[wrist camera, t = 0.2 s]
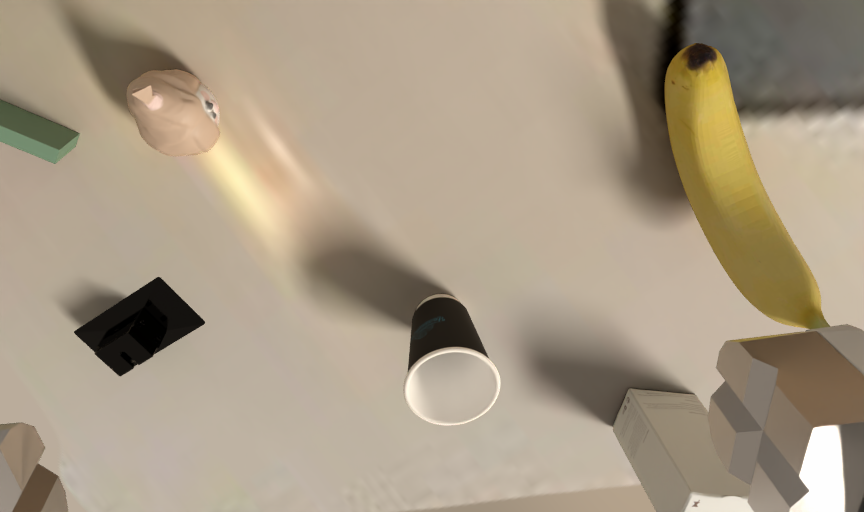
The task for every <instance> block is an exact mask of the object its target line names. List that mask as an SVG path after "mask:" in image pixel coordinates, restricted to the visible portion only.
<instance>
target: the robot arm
mask: <svg viewBox="0 0 864 512" xmlns="http://www.w3.org/2000/svg"><path fill="white" fill-rule="evenodd" d="M716 369H717V370H718V371H719V373H720V374H721V375H722V377H723V378H724V379H725V382H724V383H723V384H722V385H721V386H720V387H719V388H718V389H717V391H716V392H715V393H714V394H713V395H712V396H711V399H710V407H709V414H708V421H709V428H710V434H711V440H712V442H713V445H714V447H715V450H716V452H717V455H718V457H719V458H720V460H721V462H722V463H723V465H724V466H725V468H726V470H727V471H728V473H730V474H732V475H734V476H735V477H737V478H739V479H740V480H742V481H744V482H745V483H747V484H749V485H750V490H749V496H748V501H747V502H748V504H749V505H750V507H751V508H752V510H753V511H754V512H864V331H862V330H861V329H859V328H856V327H853V326H851V325H848V324H846V325H839V326H832V327H824V328H817V329H810V330H806V331H805V332H795V333H787V334H779V335H771V336H763V337H754V338H746V339H738V340H730V341H726V342H725V343H724V345H723V347H722V348H721V350H720V351H719V356H718V361H717V366H716ZM44 449H45V446H44V444H43V442H42V440H41V438H40V436H39V435H38V433H37V431H36V429H35V427H34V426H31V425H28V424H25V423H10V424H0V512H68V506H67V500H66V494H65V490H64V488H63V485H62V483H61V481H60V479H59V476H58V475H56V474H54V473H53V472H51V471H49V470H48V469H46V468H45V467H43V466H41V465H40V464H38V463H39V460H40V458H41V456H42V454H43V452H44Z"/></svg>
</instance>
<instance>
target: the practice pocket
mask: <svg viewBox="0 0 864 512" xmlns="http://www.w3.org/2000/svg"><path fill="white" fill-rule="evenodd" d="M78 137H79V133H77V132H75V131H72V130H70V129H68V128H65V127H63V126H61V125H58V124H56V123H54V122H51V121H49V120H47V119H44V118H42V117H40V116H37V115H35V114H32V113H30V112H28V111H25V110H23V109H21V108H18V107H16V106H14V105H11V104H9V103H7V102H4V101H2V100H0V142H3V143H5V144H8V145H10V146H13V147H15V148H17V149H20V150H22V151H25V152H27V153H30V154H32V155H35V156H37V157H39V158H42V159H44V160H47V161H49V162H52V163H54V164H56V163H57V162H58V161H59V160H60V159H62V158H63V157H64V156H65V155H66V154H67V153H69V152H70V151H71V150H72V149H73V148H74V147H76V144H77V140H78Z"/></svg>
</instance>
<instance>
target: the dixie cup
mask: <svg viewBox="0 0 864 512" xmlns="http://www.w3.org/2000/svg"><path fill="white" fill-rule="evenodd" d="M499 390H500V376H499V373H498V370H497V368H496V367H495V365H494V364H493V363H492V361H491V360H490V359H489V358H488V356H487V353H486V351H485V349H484V347H483V344H482V342H481V340H480V338H479V336H478V333H477V331H476V329H475V327H474V325H473V322H472V320H471V318H470V316H469V314H468V311H467V310H466V308H465V307H464V306H463V305H462V304H461V303H460V302H459V300H457V299H456V298H454V297H453V296H450V295H446V294H436V295H432V296H429V297H427V298H426V299H424V300H423V301H422V302H421V303H420V304H419V305H418V307H417V309H416V311H415V313H414V316H413V319H412V330H411V341H410V353H409V364H408V373H407V376H406V378H405V381H404V389H403V391H404V397H405V400H406V402H407V404H408V406H409V408H410V409H411V410H412V411H413V412H414V413H415V414H416V415H417V416H418V417H420V418H421V419H423V420H425V421H428V422H430V423H434V424H438V425H458V424H463V423H466V422H469V421H472V420H474V419H476V418H478V417H480V416H481V415H483V414H484V413H485V412H486V411H487V410H489V408H490V407H491V406H492V405H493V404H494V402H495V401H496V399H497V397H498V394H499Z"/></svg>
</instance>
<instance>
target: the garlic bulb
mask: <svg viewBox="0 0 864 512" xmlns="http://www.w3.org/2000/svg"><path fill="white" fill-rule="evenodd" d="M126 96H127V101H128V107H129V111H130V113H131V115H132V116H133V117H134V118H135V120H136V123H137V126H138V129H139V132H140V135H141V136H142V138H143V139H144V140H145V141H146V142H147V144H148V145H150V146H151V147H153V148H154V149H156V150H158V151H159V152H161V153H163V154H165V155H168V156H189V155H198V154H200V153H202V152H208V151H209V150H210V149H211V148H212V147H213V146H214V145H215V143H216V142H217V140H218V138H219V135H220V131H219V128H218V125H219V118H220V113H219V106H218V103H217V100H216V98H215V96H214V95H213V93H212V92H211V91H210V90H209V89H208V88H207V87H206V86H205V85H203V84H202V83H201V82H200V81H199V80H198V78H197V77H195V76H194V75H192V74H190V73H188V72H185V71H182V70H178V69H173V70H164V71H157V70H152V71H148V72H145V73H144V74H142V75H141V76H140V77H139V78H137V79H135V80H133V81H132V82H131V83H130V84H129V86H128V88H127V93H126Z"/></svg>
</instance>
